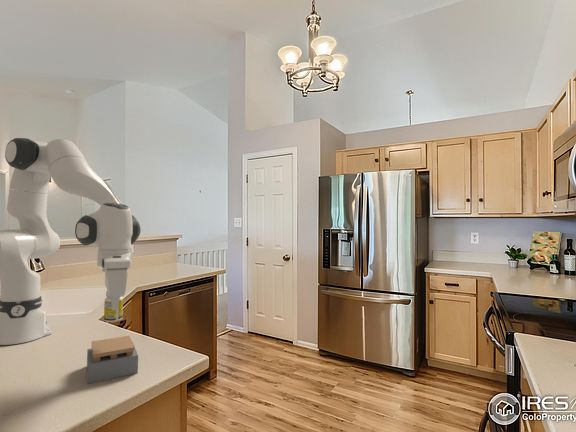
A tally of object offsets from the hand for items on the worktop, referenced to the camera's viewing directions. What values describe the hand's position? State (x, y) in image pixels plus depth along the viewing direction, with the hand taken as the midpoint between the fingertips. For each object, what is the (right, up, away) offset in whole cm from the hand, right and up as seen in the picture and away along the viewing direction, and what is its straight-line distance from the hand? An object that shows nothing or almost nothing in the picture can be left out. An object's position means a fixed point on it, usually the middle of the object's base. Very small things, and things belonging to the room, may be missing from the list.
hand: (113, 307), depth 94 cm
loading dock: (0, -18, 0) cm, 18 cm away
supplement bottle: (0, -4, 0) cm, 4 cm away
